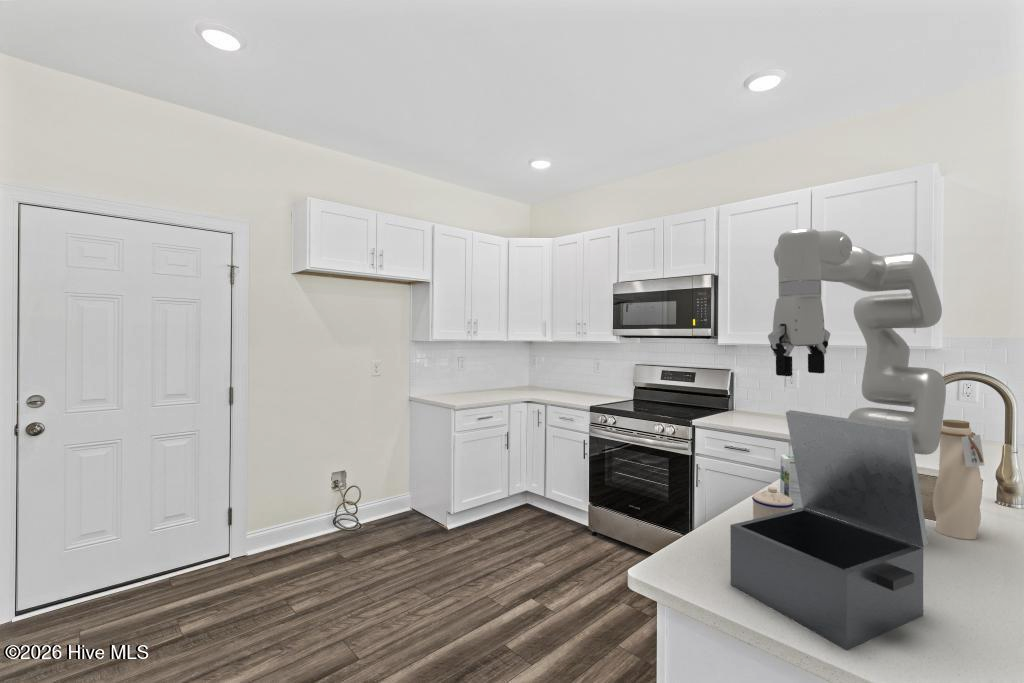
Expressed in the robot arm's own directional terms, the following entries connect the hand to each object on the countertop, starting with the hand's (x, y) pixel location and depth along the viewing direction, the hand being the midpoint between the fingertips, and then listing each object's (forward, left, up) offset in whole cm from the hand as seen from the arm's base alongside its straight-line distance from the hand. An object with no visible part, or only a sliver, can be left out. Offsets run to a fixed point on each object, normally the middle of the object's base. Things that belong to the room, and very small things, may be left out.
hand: (800, 374), depth 98 cm
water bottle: (-55, +4, -42) cm, 69 cm away
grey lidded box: (+5, +8, -42) cm, 43 cm away
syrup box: (-36, -26, -42) cm, 61 cm away
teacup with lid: (-15, -16, -42) cm, 47 cm away
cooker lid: (-3, +8, -19) cm, 21 cm away
